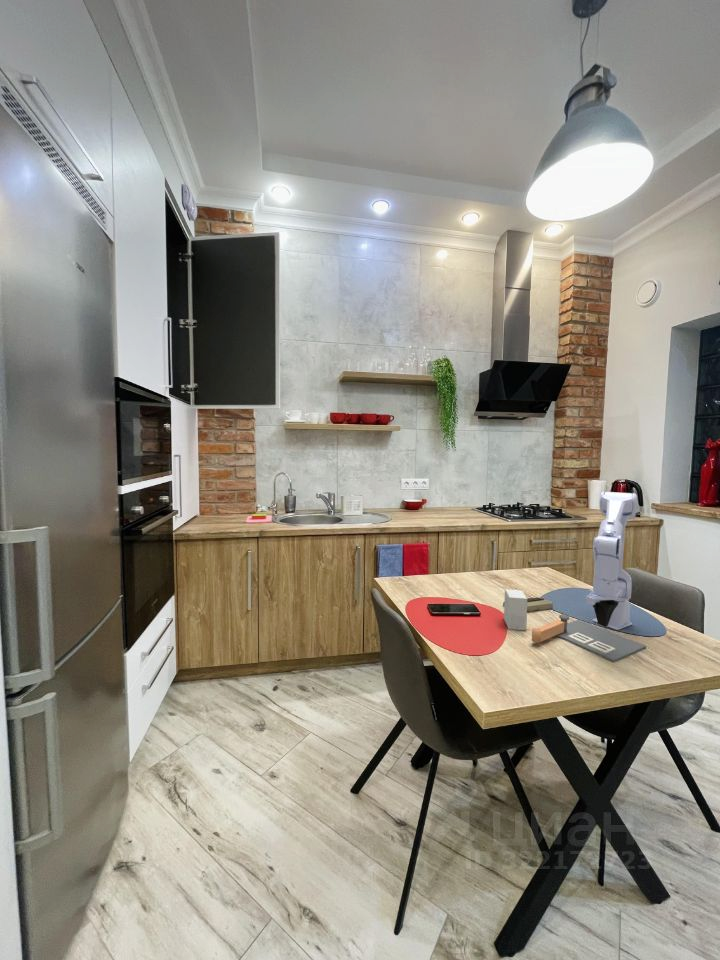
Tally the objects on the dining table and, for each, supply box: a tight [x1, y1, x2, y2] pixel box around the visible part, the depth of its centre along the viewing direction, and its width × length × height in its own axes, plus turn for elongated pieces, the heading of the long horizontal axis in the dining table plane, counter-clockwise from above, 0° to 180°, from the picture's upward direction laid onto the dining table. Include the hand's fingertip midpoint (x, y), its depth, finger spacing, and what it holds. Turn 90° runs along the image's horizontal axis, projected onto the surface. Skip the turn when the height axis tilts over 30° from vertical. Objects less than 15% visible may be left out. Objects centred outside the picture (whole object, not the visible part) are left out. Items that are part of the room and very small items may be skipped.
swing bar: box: [531, 619, 564, 644], centre depth 114 cm, size 2×14×3 cm, turn 123°
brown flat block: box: [502, 596, 554, 614], centre depth 139 cm, size 16×8×3 cm, turn 109°
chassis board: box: [554, 614, 647, 663], centre depth 115 cm, size 17×20×5 cm
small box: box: [503, 588, 528, 631], centre depth 124 cm, size 8×6×10 cm
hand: (602, 624), depth 108 cm, fingers closed
